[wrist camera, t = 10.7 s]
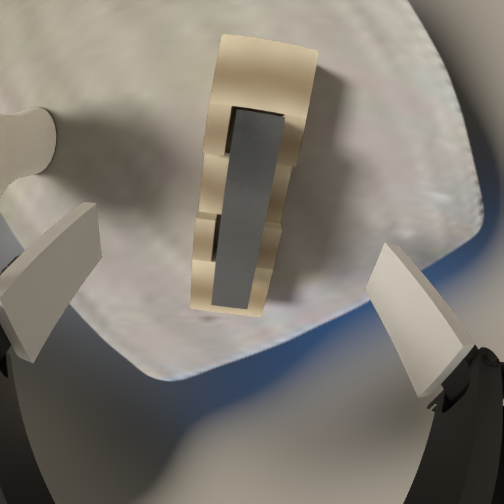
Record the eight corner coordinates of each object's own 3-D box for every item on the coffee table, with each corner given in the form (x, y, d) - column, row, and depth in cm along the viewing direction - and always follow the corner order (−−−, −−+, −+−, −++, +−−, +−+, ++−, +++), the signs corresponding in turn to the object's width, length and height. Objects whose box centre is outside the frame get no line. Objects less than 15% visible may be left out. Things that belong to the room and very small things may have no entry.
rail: (225, 46, 18) (222, 34, 14) (307, 60, 18) (318, 51, 15) (196, 284, 29) (190, 308, 26) (259, 292, 30) (261, 317, 26)
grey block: (240, 111, 20) (236, 109, 13) (271, 116, 20) (285, 117, 13) (219, 251, 26) (211, 305, 19) (246, 254, 26) (247, 309, 19)
